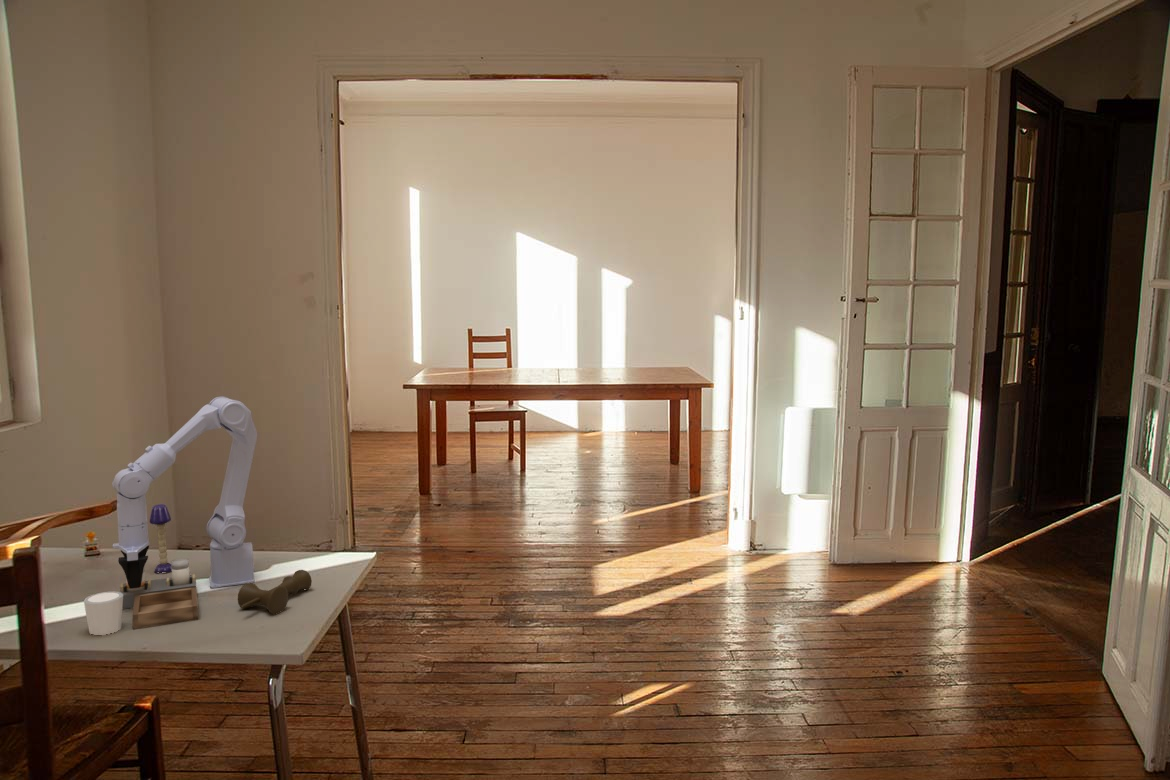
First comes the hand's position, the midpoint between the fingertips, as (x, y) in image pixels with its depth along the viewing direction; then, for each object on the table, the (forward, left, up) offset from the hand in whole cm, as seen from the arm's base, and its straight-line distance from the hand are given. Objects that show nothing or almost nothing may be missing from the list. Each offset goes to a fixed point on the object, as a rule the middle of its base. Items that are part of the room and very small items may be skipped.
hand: (135, 582), depth 178 cm
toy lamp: (-5, -19, -4) cm, 20 cm away
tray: (-6, +11, -4) cm, 13 cm away
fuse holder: (-5, 0, -4) cm, 6 cm away
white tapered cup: (+5, +15, -4) cm, 16 cm away
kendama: (-28, +14, -5) cm, 31 cm away
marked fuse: (0, 0, -4) cm, 4 cm away
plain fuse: (-9, 0, -4) cm, 10 cm away
